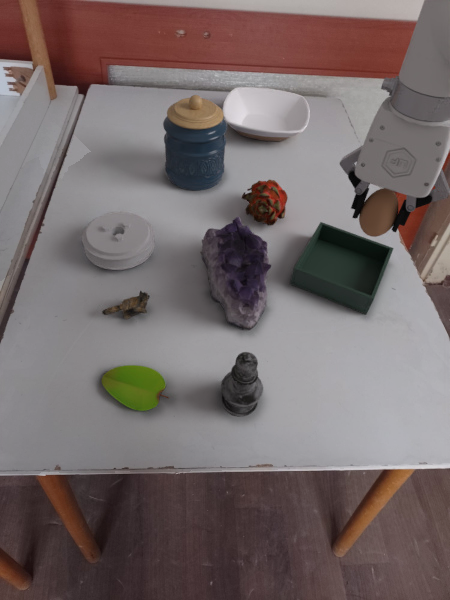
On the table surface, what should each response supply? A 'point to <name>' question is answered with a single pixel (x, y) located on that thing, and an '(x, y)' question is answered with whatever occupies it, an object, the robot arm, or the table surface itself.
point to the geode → (237, 272)
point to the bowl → (266, 113)
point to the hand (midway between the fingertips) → (376, 218)
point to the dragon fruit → (266, 202)
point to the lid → (118, 240)
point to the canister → (194, 143)
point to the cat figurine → (130, 306)
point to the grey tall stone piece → (242, 386)
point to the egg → (379, 212)
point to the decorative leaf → (135, 386)
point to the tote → (342, 267)
